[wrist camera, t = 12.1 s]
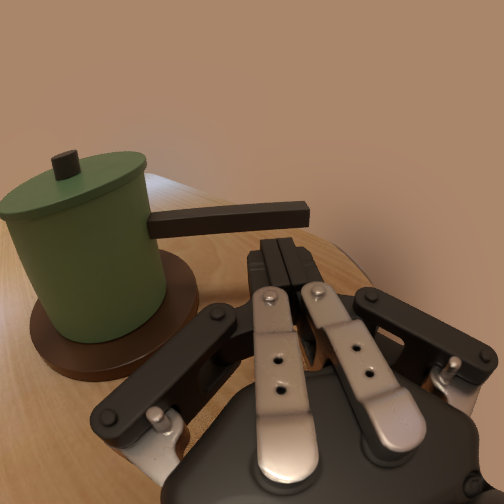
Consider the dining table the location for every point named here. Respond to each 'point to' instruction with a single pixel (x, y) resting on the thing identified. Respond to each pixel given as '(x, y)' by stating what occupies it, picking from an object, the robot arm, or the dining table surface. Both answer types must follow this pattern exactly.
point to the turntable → (125, 347)
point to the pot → (111, 240)
